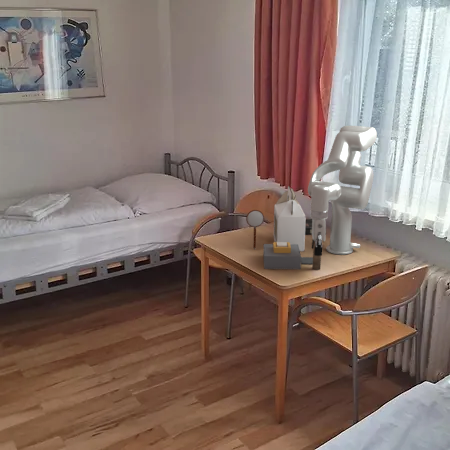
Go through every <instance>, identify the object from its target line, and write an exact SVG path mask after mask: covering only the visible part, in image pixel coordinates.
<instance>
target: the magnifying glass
mask: <svg viewBox="0 0 450 450" xmlns="http://www.w3.org/2000/svg"><path fill="white" fill-rule="evenodd" d="M245 220H246V223H247V225H248V226H249V227H251V228H253V244H252V245H253V246H252V247H253V250H256V248H257V228H258V227H260V226H262V225H263V223H264V221H265V217H264V213H263V211H260V210H259V209H253V210H250V211H249V212H248V213H247V215H246V218H245Z"/></svg>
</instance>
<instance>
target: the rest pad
mask: <svg viewBox="0 0 450 450" xmlns="http://www.w3.org/2000/svg"><path fill="white" fill-rule="evenodd" d="M301 265H312V266H313V256H311V257H310V256H301Z"/></svg>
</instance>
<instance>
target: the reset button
mask: <svg viewBox="0 0 450 450" xmlns="http://www.w3.org/2000/svg"><path fill="white" fill-rule="evenodd" d="M277 247H287V242H277Z"/></svg>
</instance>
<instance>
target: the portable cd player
mask: <svg viewBox="0 0 450 450" xmlns="http://www.w3.org/2000/svg"><path fill="white" fill-rule="evenodd" d="M312 219H313V218H310V219H309V218H306V224H305V236H312ZM326 235H327V233H326V234H325V236H326Z"/></svg>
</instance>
